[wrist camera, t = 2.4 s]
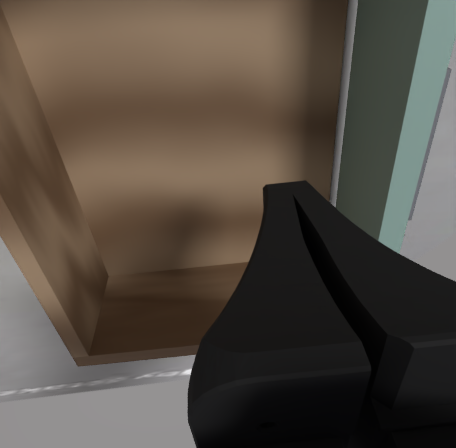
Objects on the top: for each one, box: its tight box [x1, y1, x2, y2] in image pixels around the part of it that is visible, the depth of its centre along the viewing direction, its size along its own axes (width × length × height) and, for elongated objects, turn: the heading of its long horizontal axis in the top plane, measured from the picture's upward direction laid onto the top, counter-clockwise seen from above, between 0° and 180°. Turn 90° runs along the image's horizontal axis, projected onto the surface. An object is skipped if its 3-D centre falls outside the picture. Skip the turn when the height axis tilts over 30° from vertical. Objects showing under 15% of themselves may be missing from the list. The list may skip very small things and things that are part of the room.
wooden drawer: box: [0, 0, 348, 367], centre depth 16 cm, size 20×14×7 cm
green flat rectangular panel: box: [336, 0, 456, 253], centre depth 16 cm, size 17×2×6 cm, turn 5°
